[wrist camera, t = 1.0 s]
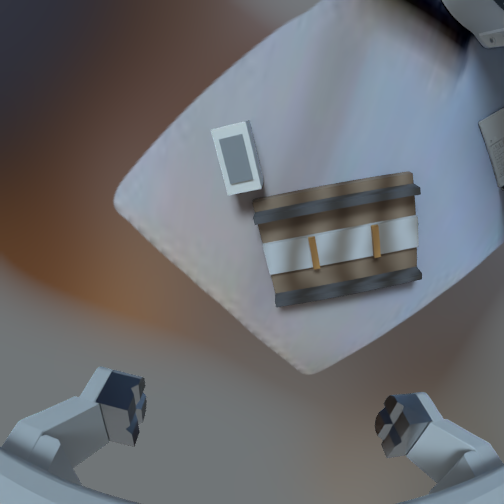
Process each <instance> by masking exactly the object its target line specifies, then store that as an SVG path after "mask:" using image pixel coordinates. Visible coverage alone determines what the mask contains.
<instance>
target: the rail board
mask: <svg viewBox="0 0 504 504" xmlns="http://www.w3.org/2000/svg"><path fill="white" fill-rule="evenodd" d="M420 194H421V193H420V187H418V186H417V185H415V184H414V183H413V174H412V173H411V172H402V173H395V174H389V175H383V176H376V177H370V178H364V179H358V180H352V181H347V182H341V183H335V184H330V185H325V186H319V187H314V188H309V189H303V190H298V191H293V192H288V193H283V194H278V195H274V196H269V197H264V198H259V199H255V200H253V202H252V204H253V207H254V211H255V214H254V217H253V219H254V223H255V225H257V224H258V227H259V230H260V234H261V238H262V242H263V249H264V253H265V257H266V261H267V265H268V269H269V273H270V275H271V277H272V281H273V285H274V289H275V293H276V295H275V304H276V307H281V306H288V305H294V304H300V303H306V302H311V301H317V300H323V299H328V298H334V297H339V296H344V295H349V294H355V293H360V292H365V291H370V290H375V289H379V288H384V287H389V286H393V285H398V284H403V283H407V282H412V281H416V280H420V279H422V273H421V272H420V270H419V269H418V268H417V247H418V217H417V216H416V212H415V196H414V195H420Z"/></svg>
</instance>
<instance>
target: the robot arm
mask: <svg viewBox="0 0 504 504" xmlns="http://www.w3.org/2000/svg"><path fill="white" fill-rule="evenodd" d="M442 2H443V3H444V5H445V6H446V8H447V9H448V11H449V12H450V13H451V14H452V15H453V17H454V18H455V19H456V20H457V21H458V22H459V23H461V24H462V25H463V26H464V27H465V28H467V29H468V30H469V31H471V32H472V33H473V34H474V35H475V37H476V38H477V39H478V41H479V42H480V43H481V45H482V46H483V47H485V48H495V47H504V0H442ZM490 40H491V42H490ZM144 388H145V380H144V378H143V377H140V376H136V375H132V374H128V373H125V372H121V371H117V370H112V369H108V368H105V367H101V366H100V367H98V368H97V369H96V371H95V373H94V374H93V376H92V377H91V379H90V380H89V382H88V384H87V385H86V387H85V389H84V390H83V392H82V394H81V395H80V397H76V396H75V397H73V398H70V399H68V400H66V401H64V402H61V403H59V404H57V405H54V406H52V407H50V408H48V409H45V410H43V411H41V412H38V413H36V414H34V415H31V416H29V417H27V418H24V419H22V420H20V421H18V423H17V424H16V426H15V427H14V429H13V430H12V432H11V433H10V435H9V436H8V438H7V439H6V441H5V443H4V444H3V445H2V447H0V504H141V503H137V502H133V501H129V500H126V499H122V498H119V497H115V496H112V495H109V494H105V493H102V492H99V491H96V490H93V489H90V488H87V487H85V486H82V485H81V482H80V480H79V478H78V477H77V475H76V473H75V471H74V470H73V468H74V467H75V466H77V465H78V464H80V463H81V462H83V461H84V460H85V459H87V458H88V457H90V456H91V455H92V454H94V453H95V452H97V451H98V450H99V449H101V448H102V447H103V446H105V445H106V444H108V443H109V441H112V442H116V443H120V444H124V445H128V446H132V447H134V446H135V444H136V441H137V438H138V435H139V426H138V425H139V424H140V423H142V422H143V420H144V416H145V412H146V402H147V401H146V396H145V394H144V393H143V391H144ZM384 405H385V408H384V409H383V410H381V411H380V412H379V413H378V415H377V417H376V420H375V431H376V433H377V435H378V437H380V438H381V439H383V442H382V444H381V445H382V448H383V450H384V452H385V455H386V457H387V458H391V457H398V456H404V455H406V457H408V458H409V459H410V460H411V461H412V462H413V463H414V464H415V465H417V466H418V467H419V468H420V469H421V470H422V471H424V472H425V473H426V474H427V475H428V476H429V477H430V478H432V479H433V480H434V481H435V482H436V483H437V484H436V486H434V487H433V488H432V489H431V491H430V492H429V495H425V496H422V497H419V498H415V499H412V500H408V501H404V502H400V503H396V504H504V464H503V463H502V461H501V460H500V458H499V456H498V455H497V453H496V452H495V450H494V449H493V447H492V446H491V444H490V443H488V442H487V441H485V440H483V439H481V438H479V437H477V436H476V435H474V434H472V433H470V432H469V431H467V430H465V429H463V428H462V427H460V426H458V425H456V424H455V423H453V422H451V421H450V420H448V419H443V417H442V416H441V414H440V413H439V411H438V410H437V408H436V407H435V405H434V403H433V402H432V400H431V399H430V397H429V396H428V394H426V393H425V392H418V393H412V394H411V393H410V394H399V395H390V396H388V397H387V399H386V400H385V402H384Z"/></svg>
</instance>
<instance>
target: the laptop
mask: <svg viewBox="0 0 504 504" xmlns="http://www.w3.org/2000/svg"><path fill="white" fill-rule="evenodd" d="M479 126H480V129H481V132H482V135H483V138H484V141H485V144H486V147H487V150H488V153H489V156H490V160H491V163H492V167H493V170H494V174H495V177H496V181H497V185H498V187H501V190H503V191H504V108H502V109H500V110H499V111H497V112H495V113H493V114H492V115H490V116H488V117H486V118H485V119H483V120H481V121H479Z"/></svg>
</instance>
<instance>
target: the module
mask: <svg viewBox="0 0 504 504" xmlns="http://www.w3.org/2000/svg"><path fill="white" fill-rule="evenodd" d="M211 133H212V137H213V140H214V144H215V148H216V152H217V156H218V160H219V163H220V167H221V171H222V175H223V179H224V182H225V186H226V190H227V194H228V196H229V195H233V194H238V193H243V192H248V191H253V190H258V189H262V185H263V181H264V180H263V176H262V171H261V167H260V163H259V158H258V154H257V150H256V146H255V142H254V137H253V133H252V129H251V125H250V121H249V120H248V121H244V122H239V123H235V124H231V125H227V126H223V127H219V128H215V129H212V130H211Z"/></svg>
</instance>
